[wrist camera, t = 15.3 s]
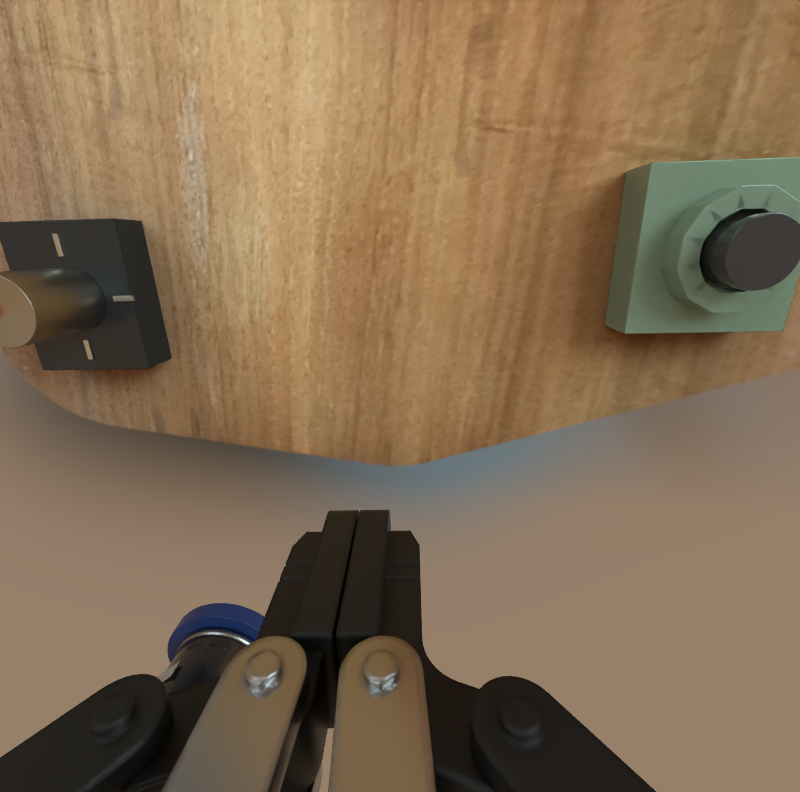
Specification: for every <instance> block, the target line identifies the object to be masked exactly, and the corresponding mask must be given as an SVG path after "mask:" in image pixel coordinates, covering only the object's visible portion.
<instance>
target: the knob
mask: <svg viewBox="0 0 800 792" xmlns="http://www.w3.org/2000/svg"><path fill="white" fill-rule="evenodd" d="M104 312H105V302H104V298H103V295H102V292H101V290H100V289H99V287H98V286H97V284H96V283H95V282H94V281H93V280H92V279H91V278H90V277H89V276H88V275H86V274H85V273H83V272H81V271H79V270H76V269H73V268H49V269H34V270H19V271H3V272H0V347H4V348H18V347H22V346H26V345H30V344H34V343H38V342H42V341H46V340H49V339H53V338H57V337H61V336H65V335H69V334H73V333H77V332H81V331H85V330H88V329H92V328H94V327H95V326H97V325H98V324H99V323H100V322H101V320H102V318H103V316H104Z"/></svg>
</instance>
